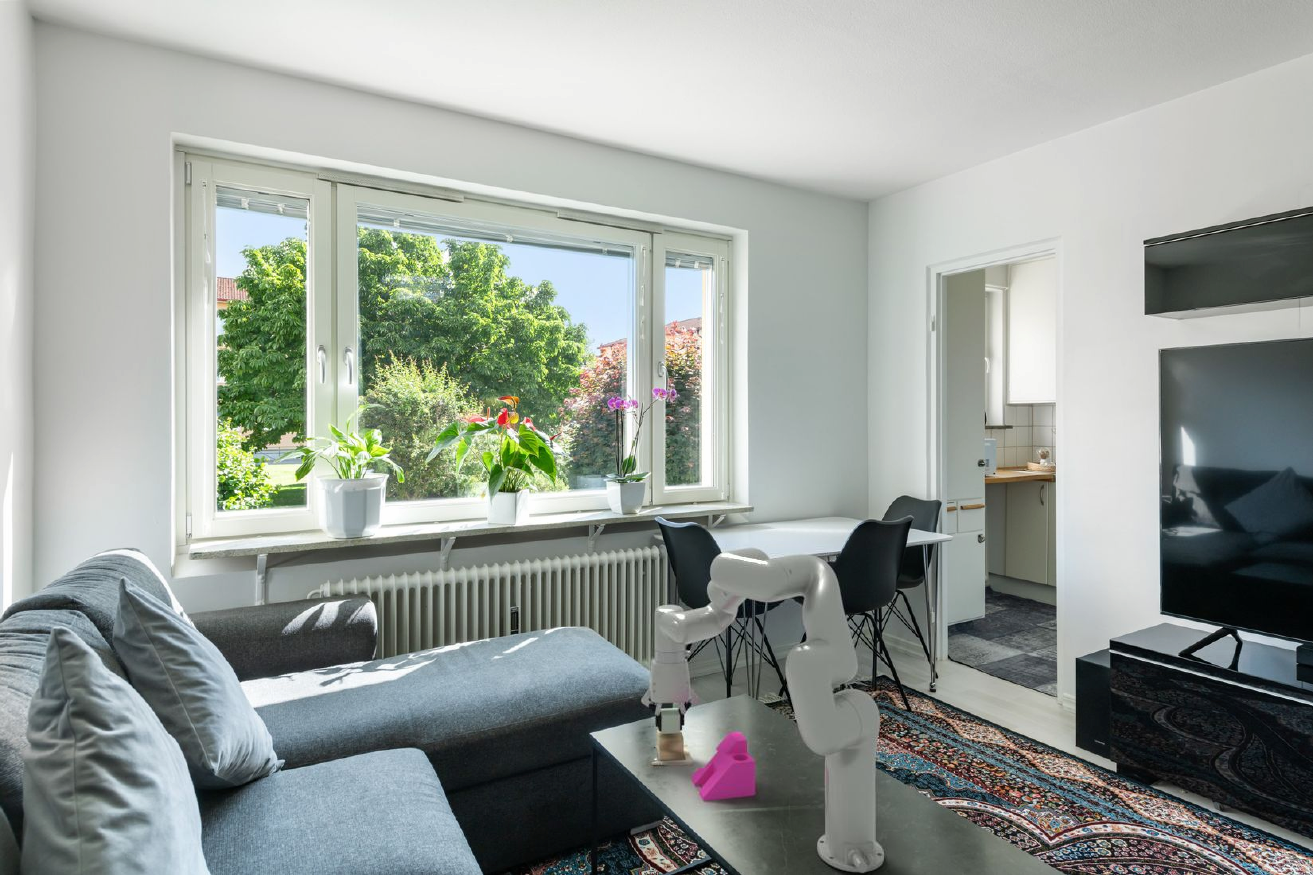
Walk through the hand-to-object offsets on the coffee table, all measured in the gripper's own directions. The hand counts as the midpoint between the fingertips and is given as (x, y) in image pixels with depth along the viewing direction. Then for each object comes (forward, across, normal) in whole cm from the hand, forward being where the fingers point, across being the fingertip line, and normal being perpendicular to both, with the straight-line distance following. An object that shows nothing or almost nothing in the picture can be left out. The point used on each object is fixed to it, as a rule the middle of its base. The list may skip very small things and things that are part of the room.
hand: (669, 727), depth 180 cm
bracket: (+8, -10, +16) cm, 21 cm away
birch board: (+8, 0, 0) cm, 8 cm away
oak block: (+6, 0, 0) cm, 6 cm away
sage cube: (0, 0, 0) cm, 0 cm away
